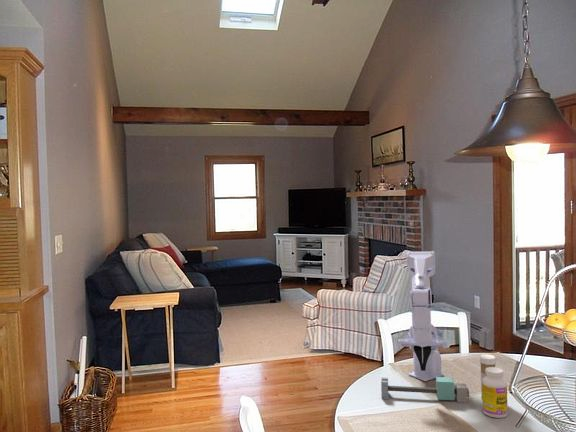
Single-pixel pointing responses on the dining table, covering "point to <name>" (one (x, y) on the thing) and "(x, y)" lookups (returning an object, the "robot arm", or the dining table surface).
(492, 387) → the supplement bottle
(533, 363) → the dining table surface
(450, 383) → the sleeve
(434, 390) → the shaft
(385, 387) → the grey notched jaw block
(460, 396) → the grey cube
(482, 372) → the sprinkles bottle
